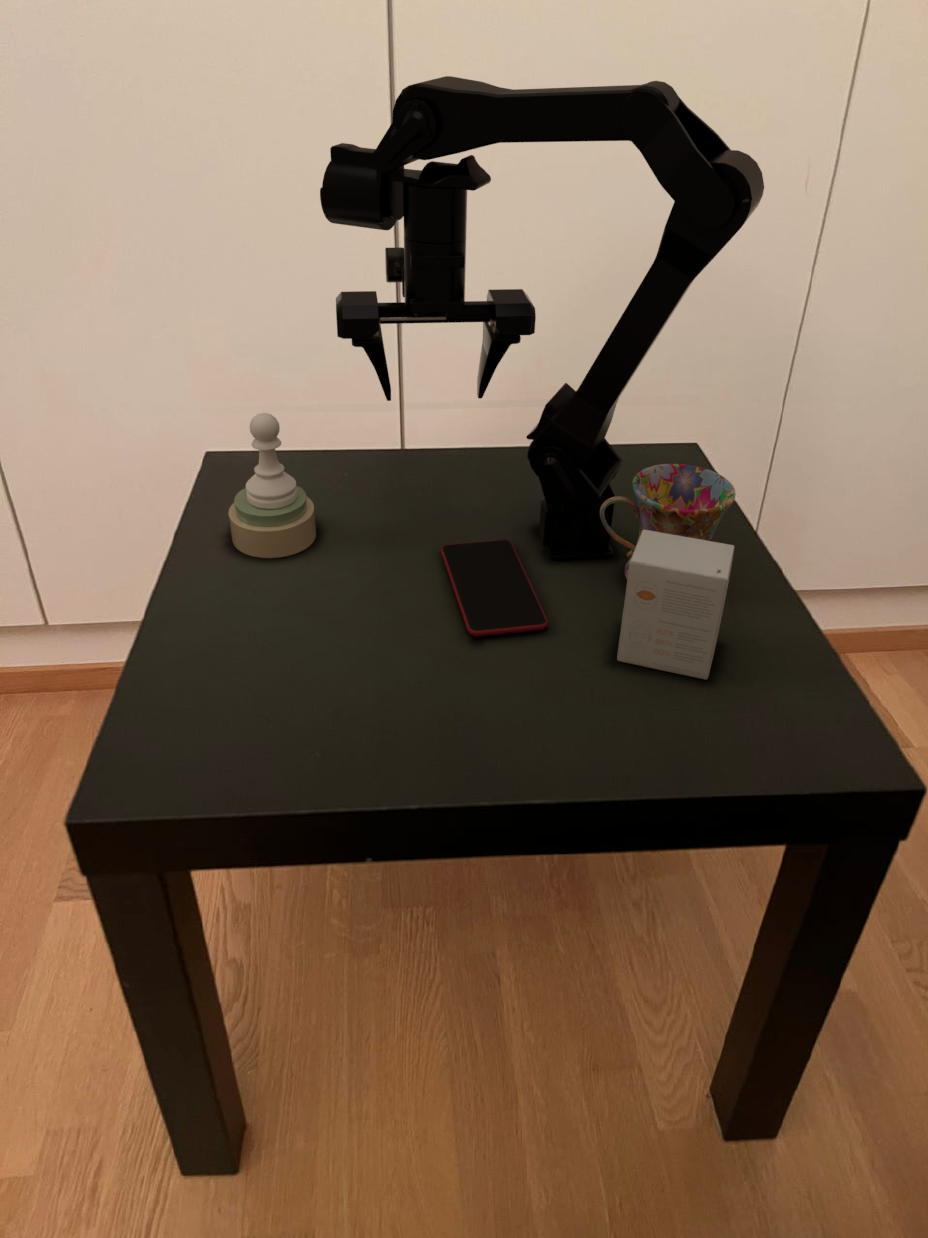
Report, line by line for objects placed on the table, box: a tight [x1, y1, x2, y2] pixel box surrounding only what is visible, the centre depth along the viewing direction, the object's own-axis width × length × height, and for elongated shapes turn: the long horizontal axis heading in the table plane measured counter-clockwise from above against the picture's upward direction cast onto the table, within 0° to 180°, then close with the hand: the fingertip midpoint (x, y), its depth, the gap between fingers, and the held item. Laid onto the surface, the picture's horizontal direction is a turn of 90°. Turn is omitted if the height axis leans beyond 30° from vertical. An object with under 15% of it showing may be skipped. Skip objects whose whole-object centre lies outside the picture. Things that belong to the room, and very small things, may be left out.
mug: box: [600, 463, 736, 580], centre depth 90 cm, size 12×9×11 cm
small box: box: [616, 530, 735, 681], centre depth 80 cm, size 8×6×10 cm
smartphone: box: [440, 539, 548, 638], centre depth 91 cm, size 7×1×15 cm
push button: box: [228, 485, 317, 559], centre depth 97 cm, size 9×9×4 cm
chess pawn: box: [245, 412, 297, 509], centre depth 93 cm, size 5×5×9 cm
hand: (434, 398), depth 96 cm, fingers open, 9 cm apart
